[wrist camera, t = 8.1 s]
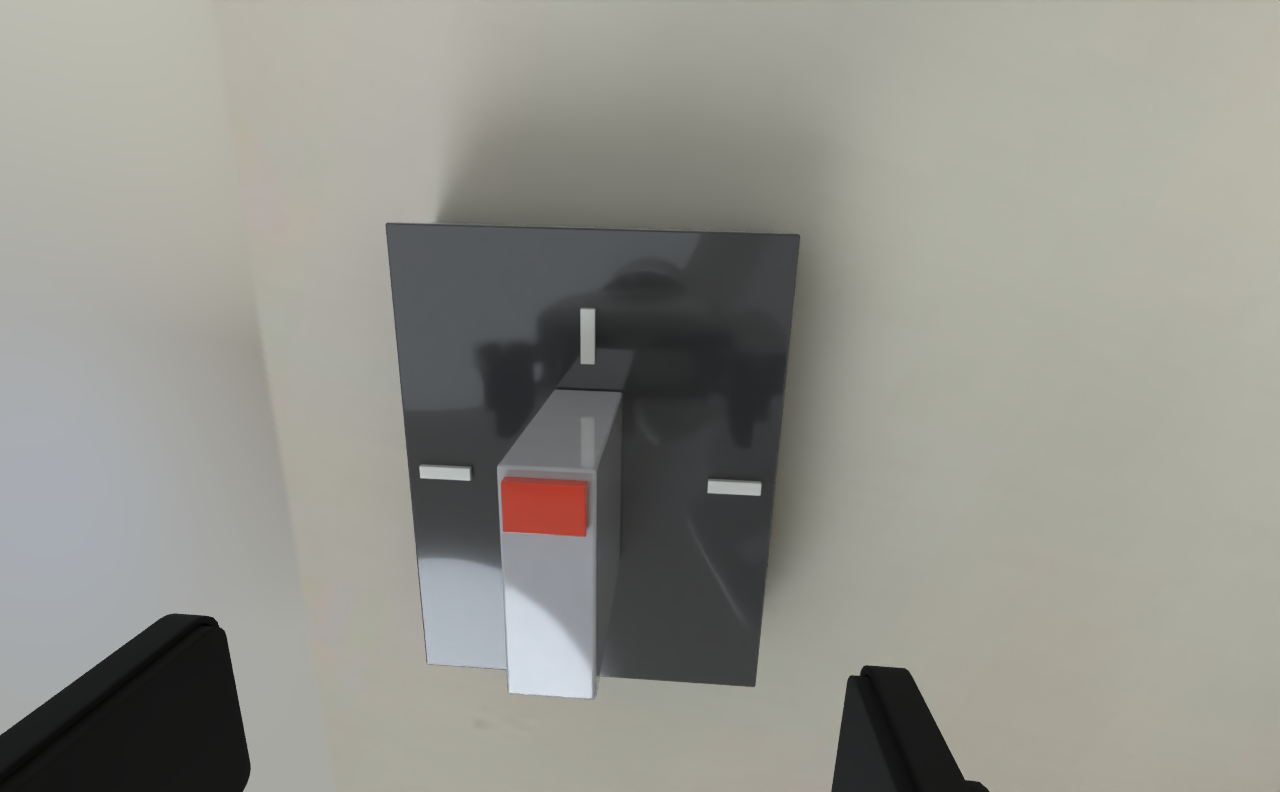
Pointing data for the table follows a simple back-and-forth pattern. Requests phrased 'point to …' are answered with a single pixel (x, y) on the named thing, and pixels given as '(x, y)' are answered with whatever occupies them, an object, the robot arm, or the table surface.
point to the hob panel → (651, 422)
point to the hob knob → (561, 543)
